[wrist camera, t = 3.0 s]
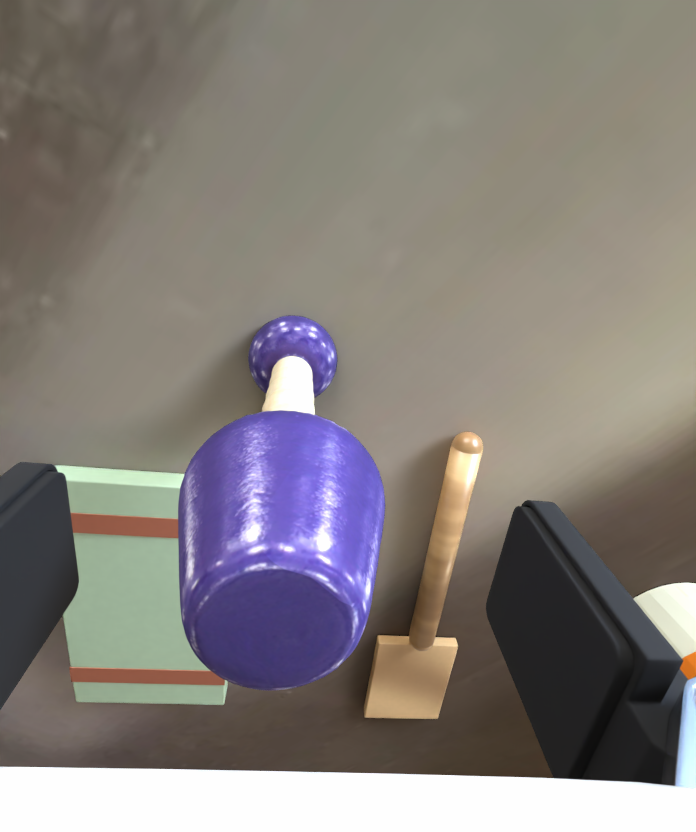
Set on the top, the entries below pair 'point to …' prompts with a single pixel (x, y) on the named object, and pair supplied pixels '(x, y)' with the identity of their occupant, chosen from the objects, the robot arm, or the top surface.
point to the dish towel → (130, 593)
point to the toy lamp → (280, 526)
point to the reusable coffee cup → (674, 619)
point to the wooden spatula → (427, 607)
